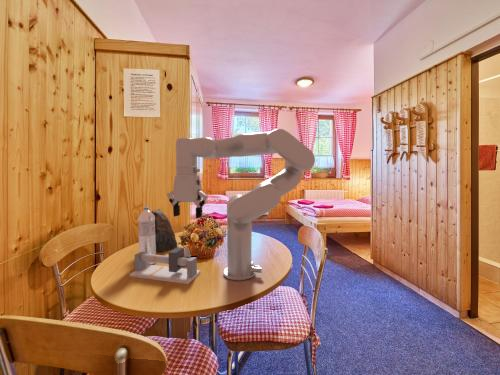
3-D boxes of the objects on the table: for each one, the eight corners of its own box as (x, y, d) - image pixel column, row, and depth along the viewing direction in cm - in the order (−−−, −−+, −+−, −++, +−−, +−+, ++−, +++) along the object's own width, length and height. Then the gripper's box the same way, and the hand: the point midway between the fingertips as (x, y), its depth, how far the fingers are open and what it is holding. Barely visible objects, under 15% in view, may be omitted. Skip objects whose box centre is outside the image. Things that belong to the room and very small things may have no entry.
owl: (158, 253, 121) (156, 213, 120) (142, 249, 128) (141, 210, 127) (178, 247, 132) (177, 209, 130) (163, 242, 139) (162, 207, 137)
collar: (184, 266, 99) (184, 247, 98) (176, 272, 93) (175, 252, 92) (177, 265, 100) (177, 247, 99) (168, 271, 94) (168, 252, 93)
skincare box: (199, 253, 121) (198, 229, 120) (197, 257, 117) (197, 232, 116) (186, 254, 121) (186, 229, 120) (184, 257, 117) (184, 232, 116)
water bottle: (150, 267, 105) (148, 208, 103) (136, 265, 106) (134, 208, 104) (159, 261, 112) (157, 206, 110) (145, 260, 113) (144, 205, 111)
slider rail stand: (200, 272, 100) (200, 254, 99) (188, 284, 90) (187, 263, 89) (146, 266, 106) (146, 249, 105) (129, 276, 96) (129, 257, 96)
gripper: (212, 171, 94) (212, 216, 95) (173, 171, 99) (174, 213, 101) (202, 172, 87) (202, 220, 88) (160, 171, 92) (162, 217, 94)
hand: (187, 216), depth 94 cm, fingers open, 9 cm apart
